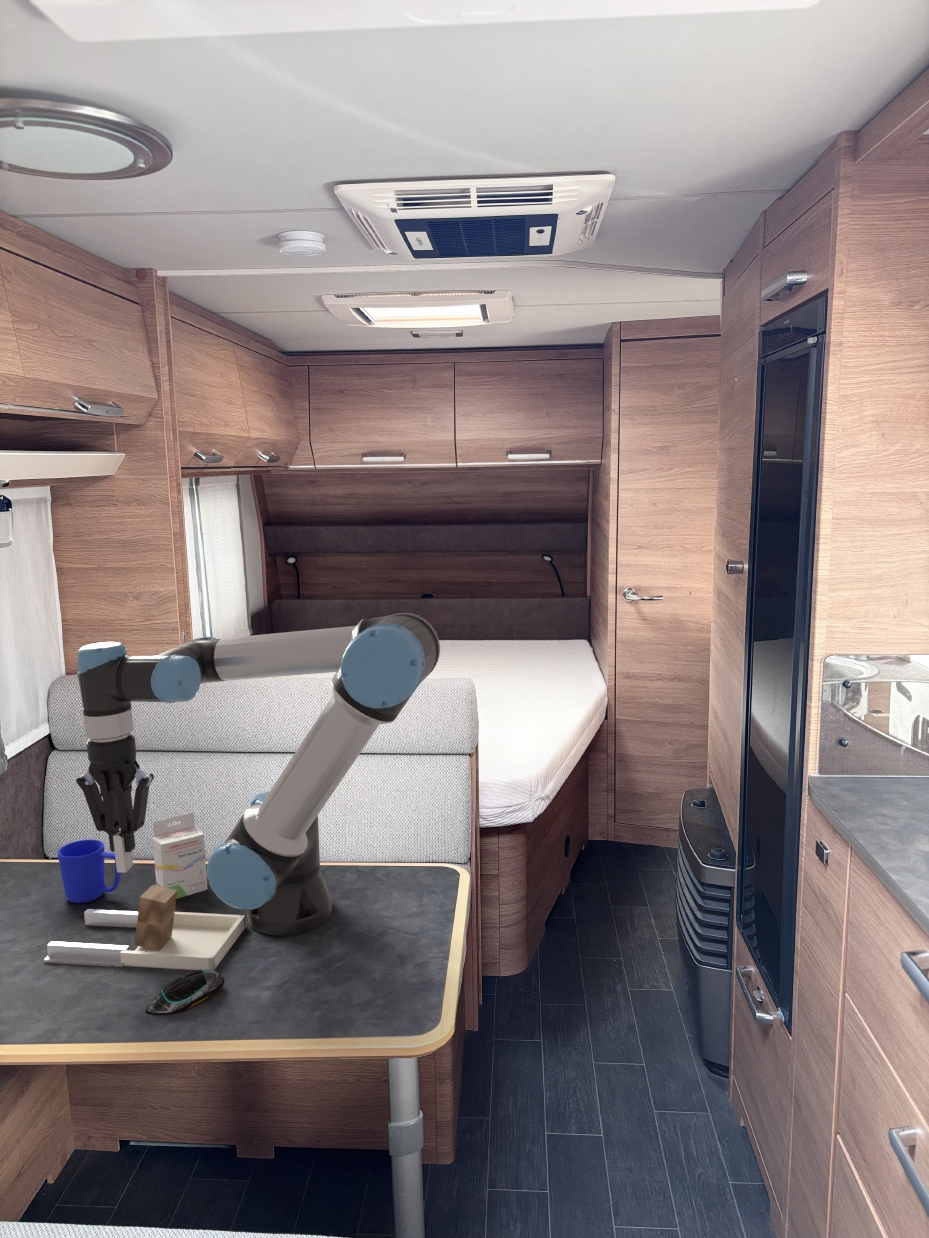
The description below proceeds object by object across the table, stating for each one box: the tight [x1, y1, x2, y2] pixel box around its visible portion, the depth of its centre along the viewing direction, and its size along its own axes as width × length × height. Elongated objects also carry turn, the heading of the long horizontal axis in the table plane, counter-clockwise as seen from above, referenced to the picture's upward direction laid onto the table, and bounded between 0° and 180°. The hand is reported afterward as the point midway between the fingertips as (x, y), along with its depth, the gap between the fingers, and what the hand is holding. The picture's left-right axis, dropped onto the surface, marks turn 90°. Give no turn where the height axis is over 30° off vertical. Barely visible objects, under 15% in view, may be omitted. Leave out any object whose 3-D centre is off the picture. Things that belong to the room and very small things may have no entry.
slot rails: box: [43, 908, 138, 968], centre depth 154 cm, size 14×15×2 cm
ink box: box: [152, 812, 208, 900], centre depth 171 cm, size 9×5×15 cm, turn 127°
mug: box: [57, 839, 122, 904], centre depth 169 cm, size 8×12×10 cm
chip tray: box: [120, 911, 247, 971], centre depth 152 cm, size 16×14×2 cm
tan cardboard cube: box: [134, 915, 174, 951], centre depth 152 cm, size 4×4×4 cm
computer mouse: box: [145, 970, 226, 1016], centre depth 136 cm, size 6×12×4 cm, turn 123°
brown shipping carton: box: [137, 884, 177, 927], centre depth 151 cm, size 4×4×4 cm
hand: (125, 868), depth 151 cm, fingers closed
